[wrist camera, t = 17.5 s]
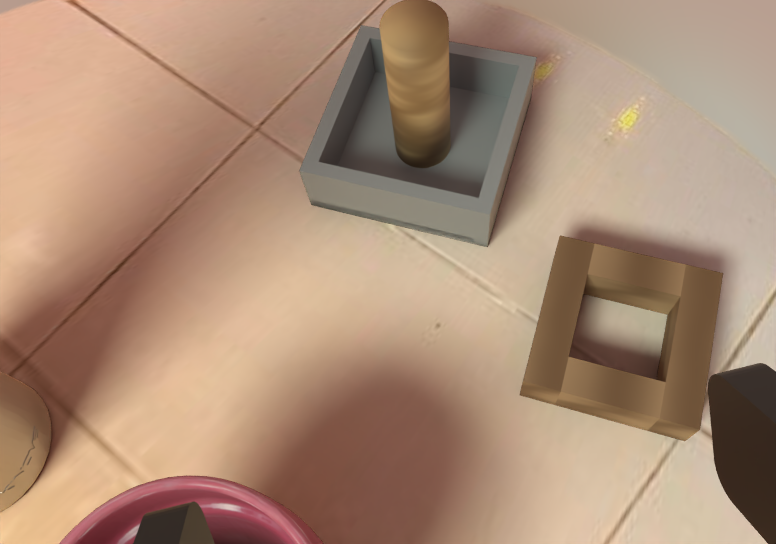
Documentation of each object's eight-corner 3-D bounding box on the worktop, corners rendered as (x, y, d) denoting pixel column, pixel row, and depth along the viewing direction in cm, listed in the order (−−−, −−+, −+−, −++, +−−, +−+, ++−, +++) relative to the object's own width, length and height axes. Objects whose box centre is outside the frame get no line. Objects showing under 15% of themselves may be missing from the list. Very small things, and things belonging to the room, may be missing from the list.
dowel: (388, 161, 53) (370, 44, 42) (404, 117, 55) (391, -7, 44) (441, 173, 52) (437, 57, 41) (457, 128, 54) (456, 5, 43)
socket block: (519, 395, 46) (523, 381, 43) (554, 256, 50) (559, 235, 47) (684, 441, 44) (699, 429, 41) (708, 292, 48) (722, 273, 45)
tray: (311, 204, 53) (299, 170, 49) (368, 66, 58) (361, 25, 54) (487, 246, 50) (490, 214, 46) (530, 98, 55) (536, 57, 51)
